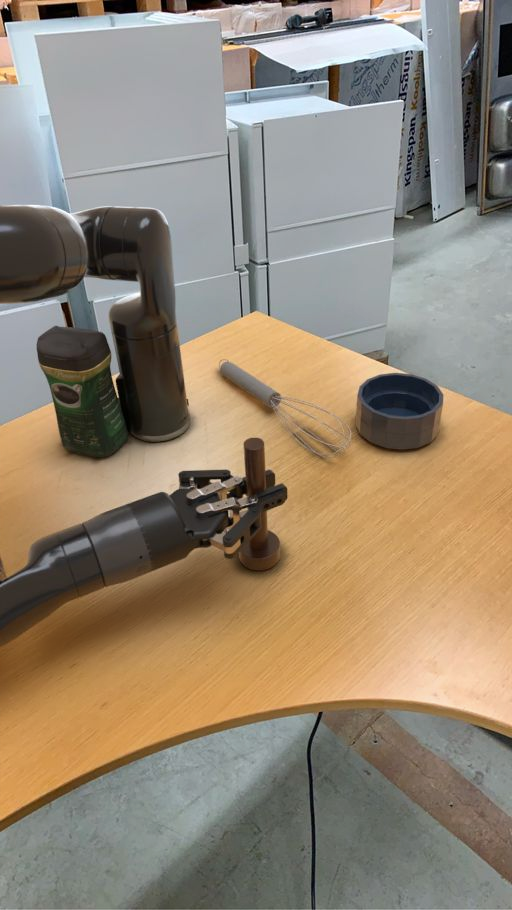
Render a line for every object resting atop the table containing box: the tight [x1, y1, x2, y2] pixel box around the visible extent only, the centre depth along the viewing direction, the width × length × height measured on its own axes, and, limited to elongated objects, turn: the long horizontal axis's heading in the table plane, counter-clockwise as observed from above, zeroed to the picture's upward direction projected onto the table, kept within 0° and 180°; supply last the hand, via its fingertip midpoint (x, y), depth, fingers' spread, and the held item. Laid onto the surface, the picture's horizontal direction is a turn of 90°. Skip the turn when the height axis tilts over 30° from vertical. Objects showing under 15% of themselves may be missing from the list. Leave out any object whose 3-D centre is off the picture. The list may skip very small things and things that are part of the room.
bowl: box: [355, 372, 444, 451], centre depth 97 cm, size 12×12×6 cm
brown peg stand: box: [238, 437, 281, 571], centre depth 74 cm, size 5×5×17 cm
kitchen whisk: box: [218, 359, 352, 459], centre depth 102 cm, size 6×34×6 cm, turn 34°
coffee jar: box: [36, 325, 129, 458], centre depth 94 cm, size 10×8×19 cm
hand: (279, 484), depth 74 cm, fingers closed on brown peg stand
